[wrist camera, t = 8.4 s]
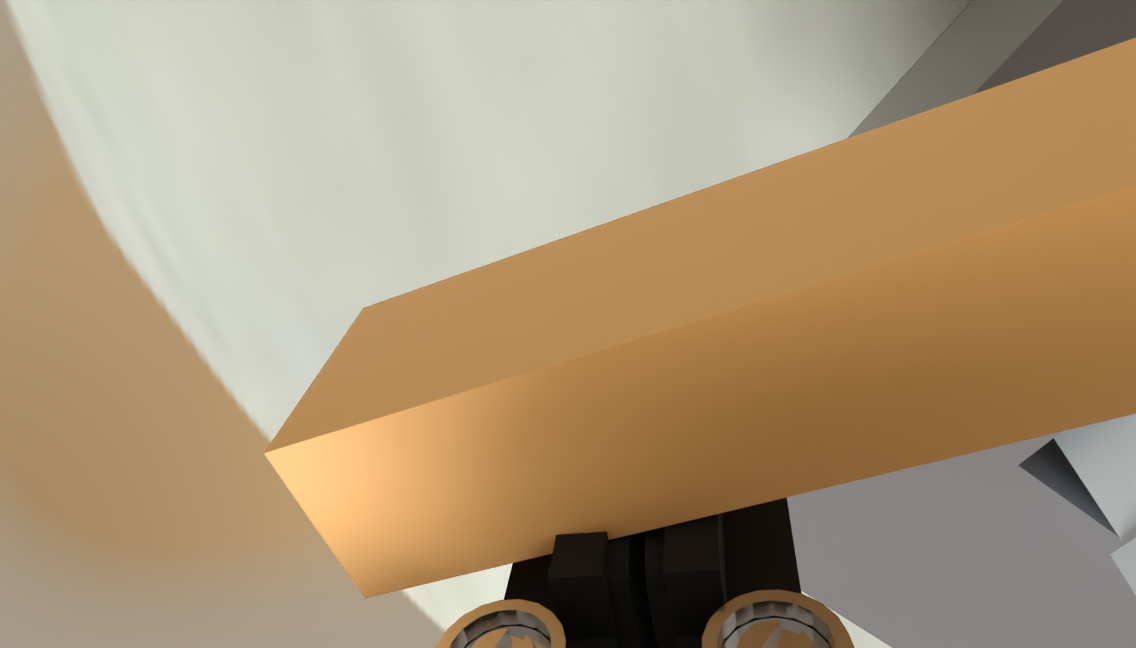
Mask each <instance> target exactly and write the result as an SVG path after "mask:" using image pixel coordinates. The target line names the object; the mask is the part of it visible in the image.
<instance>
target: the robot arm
mask: <svg viewBox="0 0 1136 648" xmlns="http://www.w3.org/2000/svg"><path fill="white" fill-rule="evenodd" d="M436 648H854V646H853V643H852V641H851V638H850V636H849V633H848V632H847V630H846V629H845V627H844V625H843V624H842V622H841V621H840V619H839V617H838V616H837V615H835V614H834V613H833V612H832V611H831V610H829V609H828V608H827V607H826V606H825V605H824V604H822V603H821V602H818V601H816V600H814V599H812V598H810V597H808V596H806V595H803V594H801V587H800V581H799V574H798V568H797V561H796V555H795V548H794V541H793V535H792V528H791V522H790V515H789V509H788V502H787V497H786V498H782V499H778V500H774V501H769V502H765V503H761V504H757V505H753V506H749V507H744V508H740V509H736V510H732V511H728V512H724V513H719V514H715V515H711V516H707V517H703V518H698V519H694V520H690V521H686V522H682V523H678V524H673V525H669V526H665V527H661V528H657V529H653V530H648V531H644V532H640V533H636V534H632V535H627V536H623V537H619V538H615V539H611V540H609V539H608V534H607V531H605V532H590V533H575V534H559V535H556V538H555V543H554V548H553V553H552V554H548V555H544V556H540V557H536V558H531V559H527V560H523V561H519V562H515V563H513V565H512V569H511V573H510V577H509V581H508V585H507V589H506V593H505V597H504V600H499V601H496V602H492V603H489V604H485V605H482V606H480V607H478V608H476V609H474V610H472V611H470V612H469V613H467V614H465V615H463V616H462V617H461V618H460V619H459V620H457V621H456V622H455V623H454V624H453V625H452V626H451V627H449V628H448V629H447V631H446V632H445V634H444V635H443V637H442V638H441V640H440V641H439V643H438V644H437V646H436Z"/></svg>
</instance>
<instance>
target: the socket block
mask: <svg viewBox="0 0 1136 648" xmlns="http://www.w3.org/2000/svg"><path fill="white" fill-rule="evenodd" d="M1133 38H1136V0H972V2H971V3H970V4H969V5H968V6H967V7H966V8H965V9H964V10H963V12H962V13H961V14H960V15H959V16H958V17H957V18H956V19H955V20H954V21H953V23H952V24H951V25H950V26H949V27H948V28H947V29H946V30H945V31H944V33H943V34H942V35H941V36H940V37H939V38H938V39H937V40H936V41H935V42H934V44H933V45H932V46H931V47H930V48H929V49H928V50H927V51H926V52H925V54H924V55H923V56H922V57H921V58H920V59H919V60H918V61H917V62H916V63H915V65H914V66H913V67H912V68H911V69H910V70H909V71H908V72H907V73H906V75H905V76H904V77H903V78H902V79H901V80H900V81H899V82H898V83H897V84H896V86H895V87H894V88H893V89H892V90H891V91H890V92H889V93H888V94H887V96H886V97H885V98H884V99H883V100H882V101H881V102H880V103H879V104H878V105H877V107H876V108H875V109H874V110H873V111H872V112H871V113H870V114H869V115H868V117H867V118H866V119H865V120H864V121H863V122H862V123H861V124H860V125H859V127H858V128H857V129H856V130H855V131H854V132H853V133H852V134H851V135H850V136H849V138H851V137H853V136H856V135H859V134H862V133H865V132H868V131H871V130H873V129H876V128H879V127H882V126H885V125H888V124H891V123H893V122H896V121H899V120H902V119H905V118H908V117H911V116H913V115H916V114H919V113H922V112H925V111H928V110H930V109H933V108H936V107H939V106H942V105H945V104H948V103H950V102H953V101H956V100H959V99H962V98H965V97H968V96H970V95H973V94H976V93H979V92H982V91H985V90H988V89H990V88H993V87H996V86H999V85H1002V84H1005V83H1008V82H1010V81H1013V80H1016V79H1019V78H1022V77H1025V76H1028V75H1030V74H1033V73H1036V72H1039V71H1042V70H1045V69H1048V68H1050V67H1053V66H1056V65H1059V64H1062V63H1065V62H1068V61H1070V60H1073V59H1076V58H1079V57H1082V56H1085V55H1088V54H1090V53H1093V52H1096V51H1099V50H1102V49H1105V48H1108V47H1110V46H1113V45H1116V44H1119V43H1122V42H1125V41H1128V40H1130V39H1133ZM1060 433H1061V432H1058V433H1053V434H1049V435H1045V436H1041V437H1037V438H1033V439H1028V440H1024V441H1020V442H1016V443H1012V444H1008V445H1003V446H999V447H995V448H991V449H987V450H982V451H978V452H974V453H970V454H966V455H962V456H957V457H953V458H949V459H945V460H941V461H937V462H932V463H928V464H924V465H920V466H916V467H911V468H907V469H903V470H899V471H895V472H891V473H886V474H882V475H878V476H874V477H870V478H866V479H861V480H857V481H853V482H849V483H845V484H840V485H836V486H832V487H828V488H824V489H820V490H815V491H811V492H807V493H803V494H799V495H795V496H790V497H787V502H788V509H789V515H790V522H791V528H792V535H793V541H794V548H795V555H796V561H797V568H798V574H799V581H800V587H801V591H803V592H805V593H806V594H808V595H809V596H811V597H813V598H814V599H816V600H817V601H819V602H821V603H822V604H824V605H825V606H827V607H829V608H830V609H832V610H833V611H835V612H837V613H838V614H840V615H841V616H843V617H844V618H846V619H848V620H849V621H851V622H852V623H854V624H856V625H857V626H859V627H860V628H862V629H864V630H865V631H867V632H868V633H870V634H872V635H873V636H875V637H876V638H878V639H880V640H881V641H883V642H884V643H886V644H888V645H889V646H891V647H892V648H1136V595H1135V593H1134V592H1133V590H1132V588H1131V587H1130V585H1129V584H1128V582H1127V581H1126V579H1125V577H1124V576H1123V574H1122V573H1121V571H1120V569H1119V568H1118V566H1117V565H1116V563H1115V562H1114V560H1113V558H1112V557H1111V555H1110V554H1112V553H1113V552H1115V551H1116V550H1118V549H1119V548H1121V547H1122V546H1124V544H1123V542H1122V541H1121V539H1120V538H1119V536H1118V535H1117V533H1116V532H1115V530H1114V529H1113V527H1112V526H1111V524H1110V523H1109V521H1108V520H1107V518H1106V516H1105V515H1104V513H1103V512H1102V510H1101V509H1100V507H1099V506H1098V504H1097V503H1096V501H1095V500H1094V498H1093V497H1092V495H1091V494H1090V492H1089V491H1088V489H1087V488H1086V486H1085V485H1084V483H1083V482H1082V480H1081V479H1080V477H1079V476H1078V474H1077V473H1076V471H1075V470H1074V468H1073V467H1072V465H1071V464H1070V462H1069V461H1068V459H1067V458H1066V456H1065V455H1064V453H1063V452H1062V450H1061V448H1060V447H1059V446H1058V445H1057V444H1055V443H1054V442H1052V441H1051V440H1052V439H1053V438H1054V437H1056V436H1057V435H1058V434H1060Z"/></svg>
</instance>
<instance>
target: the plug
mask: <svg viewBox="0 0 1136 648" xmlns="http://www.w3.org/2000/svg"><path fill="white" fill-rule="evenodd" d="M1054 439H1055V441H1056V442H1057V444H1058V445H1059V447H1060V448H1061V450H1062V452H1063V453H1064V455H1065V456H1066V458H1067V459H1068V461H1069V462H1070V464H1071V465H1072V467H1073V468H1074V470H1075V471H1076V473H1077V474H1078V476H1079V477H1080V479H1081V480H1082V482H1083V483H1084V485H1085V486H1086V488H1087V489H1088V491H1089V492H1090V494H1091V495H1092V497H1093V498H1094V500H1095V501H1096V503H1097V504H1098V506H1099V507H1100V509H1101V510H1102V512H1103V513H1104V515H1105V516H1106V518H1107V520H1108V521H1109V523H1110V524H1111V526H1112V527H1113V529H1114V530H1115V532H1116V533H1117V535H1118V536H1119V538H1120V539H1121V541H1122V542H1123V544H1124V546H1122V547H1121V548H1119V549H1118V550H1116V551H1115V552H1113V553H1112V554H1110V555H1111V557H1112V558H1113V560H1114V562H1115V563H1116V565H1117V566H1118V568H1119V569H1120V571H1121V573H1122V574H1123V576H1124V577H1125V579H1126V581H1127V582H1128V584H1129V585H1130V587H1131V588H1132V590H1133V592H1134V593H1135V595H1136V414H1133V415H1129V416H1124V417H1120V418H1116V419H1112V420H1108V421H1104V422H1099V423H1095V424H1091V425H1087V426H1083V427H1079V428H1074V429H1070V430H1066V431H1062V432H1061V433H1060V434H1058V435H1057V436H1056V437H1054Z"/></svg>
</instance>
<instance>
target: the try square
mask: <svg viewBox="0 0 1136 648" xmlns="http://www.w3.org/2000/svg"><path fill="white" fill-rule="evenodd" d="M1133 414H1136V38H1133V39H1130V40H1128V41H1125V42H1122V43H1119V44H1116V45H1113V46H1110V47H1108V48H1105V49H1102V50H1099V51H1096V52H1093V53H1090V54H1088V55H1085V56H1082V57H1079V58H1076V59H1073V60H1070V61H1068V62H1065V63H1062V64H1059V65H1056V66H1053V67H1050V68H1048V69H1045V70H1042V71H1039V72H1036V73H1033V74H1030V75H1028V76H1025V77H1022V78H1019V79H1016V80H1013V81H1010V82H1008V83H1005V84H1002V85H999V86H996V87H993V88H990V89H988V90H985V91H982V92H979V93H976V94H973V95H970V96H968V97H965V98H962V99H959V100H956V101H953V102H950V103H948V104H945V105H942V106H939V107H936V108H933V109H930V110H928V111H925V112H922V113H919V114H916V115H913V116H911V117H908V118H905V119H902V120H899V121H896V122H893V123H891V124H888V125H885V126H882V127H879V128H876V129H873V130H871V131H868V132H865V133H862V134H859V135H856V136H853V137H851V138H848V139H845V140H842V141H839V142H836V143H833V144H831V145H828V146H825V147H822V148H819V149H816V150H813V151H811V152H808V153H805V154H802V155H799V156H796V157H793V158H791V159H788V160H785V161H782V162H779V163H776V164H773V165H771V166H768V167H765V168H762V169H759V170H756V171H753V172H751V173H748V174H745V175H742V176H739V177H736V178H733V179H731V180H728V181H725V182H722V183H719V184H716V185H713V186H711V187H708V188H705V189H702V190H699V191H696V192H693V193H691V194H688V195H685V196H682V197H679V198H676V199H673V200H671V201H668V202H665V203H662V204H659V205H656V206H653V207H651V208H648V209H645V210H642V211H639V212H636V213H634V214H631V215H628V216H625V217H622V218H619V219H616V220H614V221H611V222H608V223H605V224H602V225H599V226H596V227H594V228H591V229H588V230H585V231H582V232H579V233H576V234H574V235H571V236H568V237H565V238H562V239H559V240H556V241H554V242H551V243H548V244H545V245H542V246H539V247H536V248H534V249H531V250H528V251H525V252H522V253H519V254H516V255H514V256H511V257H508V258H505V259H502V260H499V261H496V262H494V263H491V264H488V265H485V266H482V267H479V268H476V269H474V270H471V271H468V272H465V273H462V274H459V275H456V276H454V277H451V278H448V279H445V280H442V281H439V282H436V283H434V284H431V285H428V286H425V287H422V288H419V289H416V290H414V291H411V292H408V293H405V294H402V295H399V296H396V297H394V298H391V299H388V300H385V301H382V302H379V303H377V304H374V305H371V306H368V307H365V308H363V309H362V311H361V312H360V314H359V315H358V317H357V318H356V320H355V321H354V323H353V324H352V325H351V327H350V328H349V330H348V331H347V333H346V334H345V336H344V337H343V339H342V340H341V341H340V343H339V344H338V346H337V347H336V349H335V350H334V352H333V353H332V355H331V356H330V358H329V359H328V360H327V362H326V363H325V365H324V366H323V368H322V369H321V371H320V372H319V374H318V375H317V376H316V378H315V379H314V381H313V382H312V384H311V385H310V387H309V388H308V390H307V391H306V392H305V394H304V395H303V397H302V398H301V400H300V401H299V403H298V404H297V406H296V407H295V408H294V410H293V411H292V413H291V414H290V416H289V417H288V419H287V420H286V422H285V423H284V425H283V426H282V427H281V429H280V430H279V432H278V433H277V435H276V436H275V438H274V439H273V441H272V442H271V443H270V445H269V446H268V448H267V449H266V451H265V452H264V454H265V456H266V457H267V458H268V460H269V461H270V463H271V464H272V466H273V467H274V469H275V470H276V471H277V473H278V474H279V476H280V477H281V478H282V480H283V481H284V483H285V484H286V486H287V487H288V488H289V490H290V492H291V493H292V494H293V496H294V497H295V499H296V500H297V502H298V503H299V504H300V506H301V507H302V509H303V510H304V512H305V513H306V515H307V516H308V517H309V518H310V520H311V522H312V523H313V524H314V526H315V527H316V529H317V530H318V532H319V533H320V535H321V536H322V537H323V539H324V540H325V542H326V543H327V545H328V546H329V547H330V549H331V550H332V552H333V553H334V555H335V556H336V557H337V559H338V560H339V562H340V563H341V564H342V566H343V568H344V569H345V570H346V572H347V573H348V575H349V576H350V578H351V579H352V580H353V582H354V583H355V585H356V586H357V588H358V589H359V591H360V592H361V593H362V595H363V596H364V598H368V597H373V596H377V595H381V594H385V593H389V592H393V591H398V590H402V589H406V588H410V587H414V586H419V585H423V584H427V583H431V582H435V581H440V580H444V579H448V578H452V577H456V576H460V575H465V574H469V573H473V572H477V571H481V570H485V569H490V568H494V567H498V566H502V565H506V564H511V563H515V562H519V561H523V560H527V559H531V558H536V557H540V556H544V555H548V554H552V553H553V548H554V543H555V538H556V535H559V534H575V533H590V532H605V531H607V534H608V539H609V540H611V539H615V538H619V537H623V536H627V535H632V534H636V533H640V532H644V531H648V530H653V529H657V528H661V527H665V526H669V525H673V524H678V523H682V522H686V521H690V520H694V519H698V518H703V517H707V516H711V515H715V514H719V513H724V512H728V511H732V510H736V509H740V508H744V507H749V506H753V505H757V504H761V503H765V502H769V501H774V500H778V499H782V498H786V497H790V496H795V495H799V494H803V493H807V492H811V491H815V490H820V489H824V488H828V487H832V486H836V485H840V484H845V483H849V482H853V481H857V480H861V479H866V478H870V477H874V476H878V475H882V474H886V473H891V472H895V471H899V470H903V469H907V468H911V467H916V466H920V465H924V464H928V463H932V462H937V461H941V460H945V459H949V458H953V457H957V456H962V455H966V454H970V453H974V452H978V451H982V450H987V449H991V448H995V447H999V446H1003V445H1008V444H1012V443H1016V442H1020V441H1024V440H1028V439H1033V438H1037V437H1041V436H1045V435H1049V434H1053V433H1058V432H1062V431H1066V430H1070V429H1074V428H1079V427H1083V426H1087V425H1091V424H1095V423H1099V422H1104V421H1108V420H1112V419H1116V418H1120V417H1124V416H1129V415H1133Z"/></svg>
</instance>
